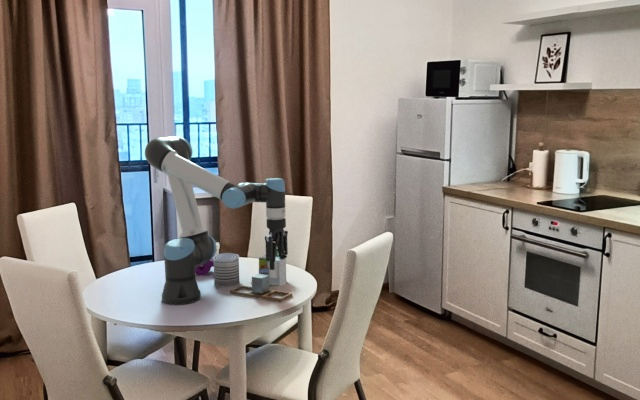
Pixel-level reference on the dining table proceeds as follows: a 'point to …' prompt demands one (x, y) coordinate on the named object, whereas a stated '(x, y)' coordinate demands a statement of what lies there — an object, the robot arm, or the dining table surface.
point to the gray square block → (260, 284)
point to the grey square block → (279, 272)
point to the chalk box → (265, 265)
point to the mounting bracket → (204, 268)
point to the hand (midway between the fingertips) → (277, 275)
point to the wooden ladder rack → (265, 297)
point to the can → (226, 269)
